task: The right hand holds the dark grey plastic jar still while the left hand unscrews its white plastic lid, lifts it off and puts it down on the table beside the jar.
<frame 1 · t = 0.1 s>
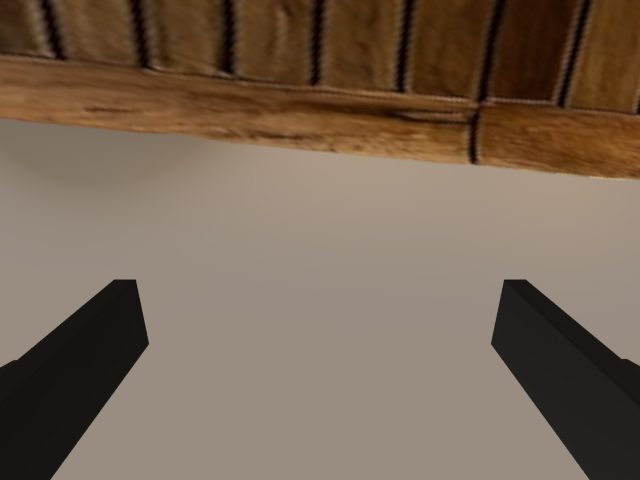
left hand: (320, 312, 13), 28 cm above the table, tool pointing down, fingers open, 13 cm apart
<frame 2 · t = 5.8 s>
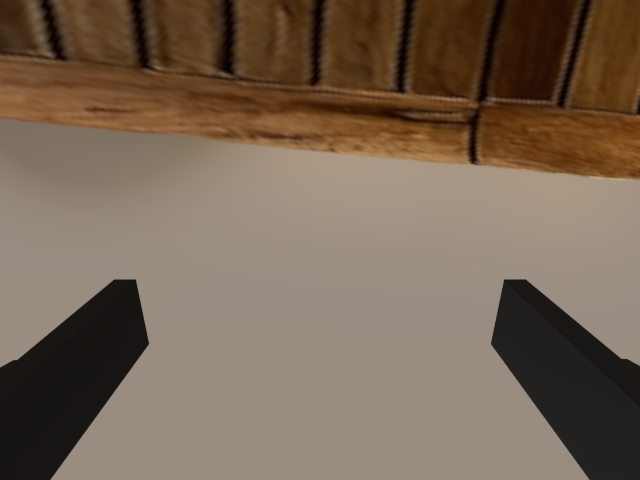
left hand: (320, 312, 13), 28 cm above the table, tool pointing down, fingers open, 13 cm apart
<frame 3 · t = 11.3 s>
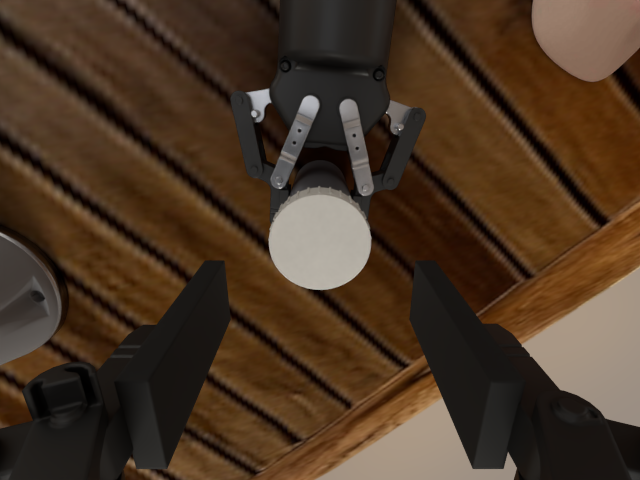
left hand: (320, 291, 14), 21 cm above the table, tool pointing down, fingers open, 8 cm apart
right hand: (317, 233, 29), fingers closed on jar, 5 cm apart
jar: (320, 185, 34), on the table, touching right hand
lid: (320, 242, 19), point 15 cm above the table, screwed on, not yet turned
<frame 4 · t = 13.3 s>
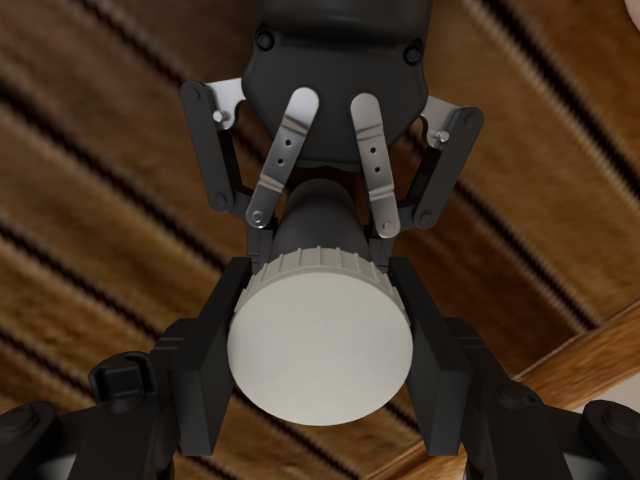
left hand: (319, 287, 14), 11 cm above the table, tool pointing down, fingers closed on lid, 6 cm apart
right hand: (316, 287, 20), fingers closed on jar, 5 cm apart
jar: (319, 212, 25), on the table, touching right hand
lid: (320, 348, 11), point 15 cm above the table, screwed on, not yet turned, touching left hand
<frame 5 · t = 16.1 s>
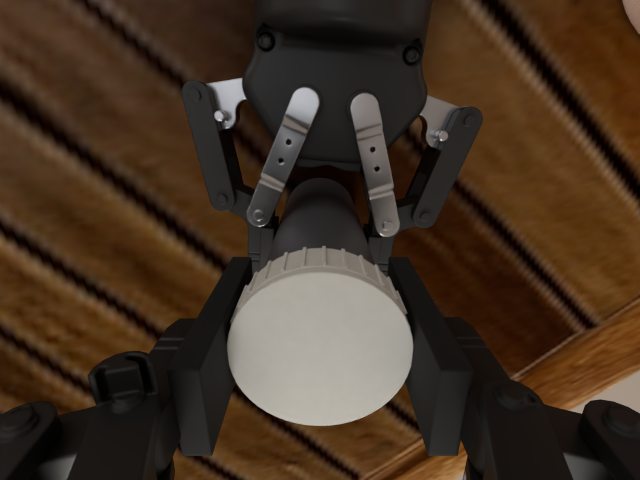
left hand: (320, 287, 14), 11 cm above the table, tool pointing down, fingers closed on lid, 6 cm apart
right hand: (316, 285, 20), fingers closed on jar, 5 cm apart
jar: (320, 211, 25), on the table, touching right hand
lid: (320, 348, 11), point 15 cm above the table, turned 59° so far, risen 0.2 cm, still on its thread, touching left hand
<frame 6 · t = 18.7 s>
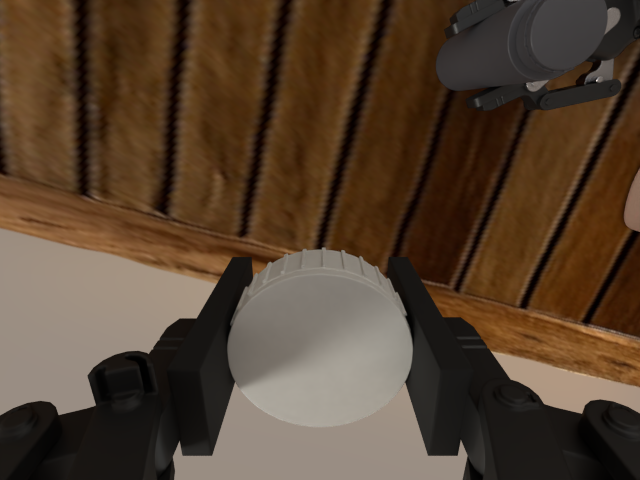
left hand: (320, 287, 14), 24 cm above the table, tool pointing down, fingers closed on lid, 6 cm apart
jar: (462, 62, 33), on the table, touching right hand
lid: (320, 350, 11), point 28 cm above the table, off its thread, touching left hand
when the left hand's fingers open (0 cm above the table, at t = 21.8 s): lid drops 3 cm, point 1 cm above the table.
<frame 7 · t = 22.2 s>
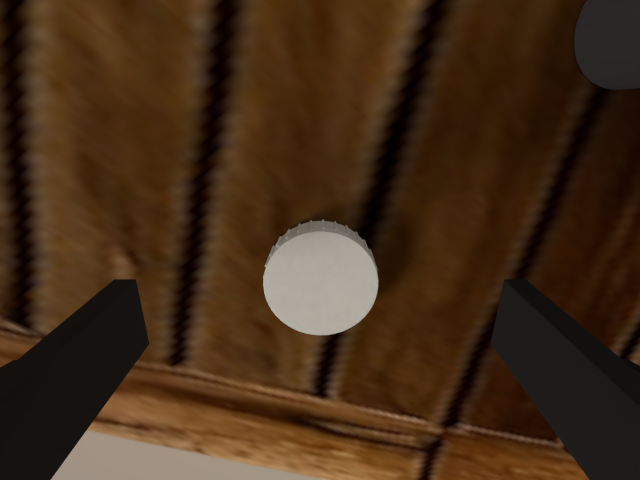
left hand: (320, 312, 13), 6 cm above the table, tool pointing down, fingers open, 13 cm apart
jar: (631, 28, 15), on the table, touching right hand
lid: (320, 282, 17), point 1 cm above the table, off its thread
when the right hand's fingers open (6 cm above the table, at t = 22.4 s): jar stays where it is, on the table.
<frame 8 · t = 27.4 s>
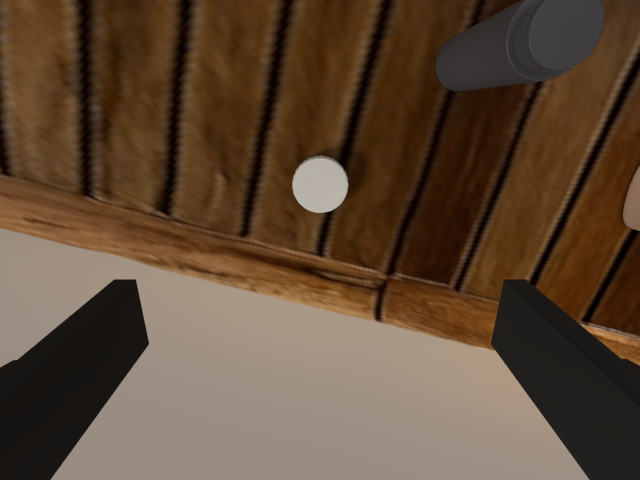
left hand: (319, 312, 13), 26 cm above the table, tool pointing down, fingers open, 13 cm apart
jar: (461, 63, 33), on the table
lid: (320, 185, 36), point 1 cm above the table, off its thread
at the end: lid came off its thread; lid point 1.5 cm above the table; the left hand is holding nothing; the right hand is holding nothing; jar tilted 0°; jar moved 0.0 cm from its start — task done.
